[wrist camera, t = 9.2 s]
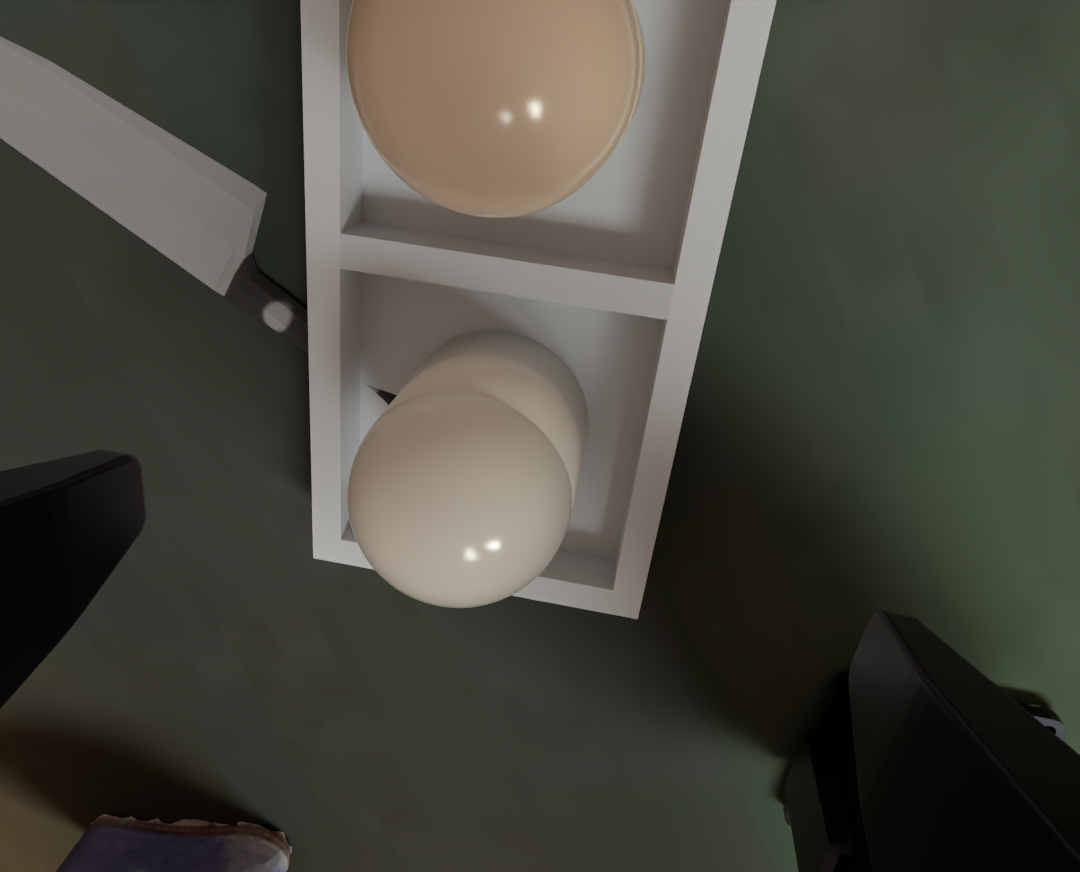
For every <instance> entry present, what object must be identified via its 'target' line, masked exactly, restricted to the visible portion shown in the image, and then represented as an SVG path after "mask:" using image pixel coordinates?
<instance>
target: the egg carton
mask: <svg viewBox="0 0 1080 872" xmlns="http://www.w3.org/2000/svg"><path fill="white" fill-rule="evenodd" d="M632 1H633V4H634V6H635V9H636V11H637V14H638V16H639V20H640V24H641V28H642V32H643V38H644V45H645V75H644V84H643V88H642V93H641V97H640V101H639V103H638V106H637V109H636V112H635V115H634V117H633V119H632V121H631V123H630V125H629V127H628V129H627V130H626V132H625V133H624V135H623V137H622V138H621V140H620V142H619V143H618V145H617V146H616V148H615V149H614V151H613V152H612V154H611V156H610V157H609V159H608V160H607V162H606V163H605V164H604V165H603V166H602V167H601V169H600V170H599V171H598V172H597V173H596V174H595V176H594V177H592V178H591V179H590V180H589V181H588V182H587V183H586V184H585V185H584V186H582V187H581V188H580V189H579V190H577V191H576V192H574V193H573V194H571V195H570V196H568V197H567V198H566V199H564V200H562V201H560V202H558V203H556V204H554V205H552V206H550V207H548V208H546V209H543V210H540V211H537V212H534V213H531V214H527V215H522V216H517V217H507V218H488V217H477V216H472V215H467V214H463V213H458V212H455V211H453V210H450V209H447V208H444V207H442V206H440V205H438V204H436V203H434V202H432V201H430V200H428V199H426V198H425V197H423V196H422V195H420V194H419V193H417V192H416V191H415V190H413V189H412V188H410V187H409V186H408V185H407V184H406V183H405V182H404V181H402V180H401V179H400V178H399V177H398V176H397V175H396V174H395V173H394V172H393V171H392V169H391V168H390V167H389V166H388V165H387V164H386V163H385V162H384V160H383V159H382V158H381V156H380V155H379V153H378V152H377V151H376V149H375V148H374V146H373V145H372V143H371V141H370V140H369V138H368V136H367V134H366V132H365V130H364V129H363V126H362V124H361V122H360V119H359V117H358V114H357V112H356V109H355V106H354V102H353V99H352V95H351V92H350V87H349V81H348V75H347V67H346V33H347V25H348V19H349V13H350V8H351V5H352V2H353V0H300V3H301V47H302V90H303V133H304V177H305V220H306V264H307V307H308V351H309V394H310V437H311V481H312V524H313V558H316V559H321V560H326V561H331V562H337V563H342V564H347V565H353V566H358V567H363V568H369V569H374V568H373V567H372V566H371V565H370V563H369V562H368V560H367V559H366V558H365V556H364V554H363V552H362V551H361V549H360V547H359V545H358V543H357V541H356V539H355V536H354V533H353V530H352V527H351V522H350V518H349V512H348V503H347V493H348V480H349V474H350V470H351V466H352V463H353V460H354V457H355V454H356V452H357V450H358V447H359V445H360V444H361V442H362V440H363V439H364V437H365V435H366V434H367V432H368V431H369V429H370V428H371V426H372V425H373V424H374V423H375V422H376V420H377V419H378V418H379V417H380V415H381V414H382V413H383V412H384V411H385V409H386V408H387V407H388V406H389V405H388V404H387V403H386V402H385V401H384V400H383V399H382V398H381V397H380V396H379V395H378V394H376V393H375V392H374V391H373V390H372V389H371V388H369V387H368V386H367V385H370V386H373V387H375V388H378V389H381V390H384V391H386V392H389V393H392V394H395V395H398V393H399V392H400V391H401V390H402V388H403V387H404V386H405V385H406V384H407V382H408V381H409V380H410V379H411V377H412V376H413V375H414V374H415V373H416V371H417V370H418V369H419V368H420V366H421V365H422V364H423V363H424V362H425V360H426V359H427V358H428V357H429V356H430V355H431V354H432V353H433V352H434V351H435V350H436V349H437V348H439V347H440V346H442V345H443V344H445V343H446V342H448V341H450V340H452V339H454V338H456V337H458V336H461V335H465V334H468V333H472V332H478V331H505V332H510V333H515V334H519V335H522V336H524V337H527V338H530V339H532V340H534V341H536V342H538V343H540V344H542V345H544V346H545V347H546V348H548V349H549V350H551V351H552V352H554V353H555V354H556V355H557V356H558V357H559V358H560V359H562V360H563V362H564V363H565V364H566V365H567V366H568V367H569V368H570V370H571V371H572V373H573V374H574V375H575V377H576V378H577V380H578V382H579V384H580V386H581V388H582V390H583V393H584V396H585V399H586V403H587V408H588V417H589V426H588V435H587V440H586V445H585V450H584V454H583V459H582V464H581V469H580V474H579V479H578V484H577V488H576V493H575V498H574V503H573V508H572V513H571V517H570V521H569V525H568V528H567V531H566V534H565V537H564V539H563V541H562V544H561V546H560V547H559V549H558V551H557V552H556V554H555V556H554V557H553V559H552V560H551V562H550V563H549V564H548V566H547V567H546V568H545V569H544V570H543V572H542V573H540V574H539V575H538V576H537V577H536V578H535V579H534V580H533V581H532V582H531V583H530V584H528V585H527V586H525V587H524V588H522V589H521V590H519V591H518V592H516V593H514V594H513V595H511V596H517V597H522V598H527V599H533V600H538V601H543V602H548V603H554V604H559V605H564V606H570V607H575V608H580V609H586V610H591V611H596V612H601V613H607V614H612V615H617V616H623V617H628V618H633V619H638V616H639V611H640V607H641V602H642V598H643V593H644V589H645V585H646V580H647V576H648V571H649V567H650V562H651V558H652V553H653V549H654V544H655V540H656V535H657V531H658V527H659V522H660V518H661V513H662V509H663V504H664V500H665V495H666V491H667V486H668V482H669V478H670V473H671V469H672V464H673V460H674V455H675V451H676V446H677V442H678V437H679V433H680V428H681V424H682V420H683V415H684V411H685V406H686V402H687V397H688V393H689V388H690V384H691V379H692V375H693V370H694V366H695V362H696V357H697V353H698V348H699V344H700V339H701V335H702V330H703V326H704V321H705V317H706V313H707V308H708V304H709V299H710V295H711V290H712V286H713V281H714V277H715V272H716V268H717V263H718V259H719V255H720V250H721V246H722V241H723V237H724V232H725V228H726V223H727V219H728V214H729V210H730V206H731V201H732V197H733V192H734V188H735V183H736V179H737V174H738V170H739V165H740V161H741V156H742V152H743V148H744V143H745V139H746V134H747V130H748V125H749V121H750V116H751V112H752V107H753V103H754V98H755V94H756V90H757V85H758V81H759V76H760V72H761V67H762V63H763V58H764V54H765V49H766V45H767V41H768V36H769V32H770V27H771V23H772V18H773V14H774V9H775V5H776V0H632ZM363 382H364V383H363ZM365 383H366V384H367V385H366V384H365ZM374 570H375V569H374Z"/></svg>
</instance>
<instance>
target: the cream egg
mask: <svg viewBox="0 0 1080 872" xmlns="http://www.w3.org/2000/svg"><path fill="white" fill-rule="evenodd" d="M588 426H589V417H588V408H587V403H586V399H585V396H584V393H583V390H582V388H581V386H580V384H579V382H578V380H577V378H576V377H575V375H574V374H573V373H572V371H571V370H570V368H569V367H568V366H567V365H566V364H565V363H564V362H563V360H562V359H560V358H559V357H558V356H557V355H556V354H555V353H554V352H552V351H551V350H549V349H548V348H546V347H545V346H544V345H542V344H540V343H538V342H536V341H534V340H532V339H530V338H527V337H524V336H522V335H519V334H515V333H510V332H505V331H478V332H472V333H468V334H465V335H461V336H458V337H456V338H454V339H452V340H450V341H448V342H446V343H445V344H443V345H442V346H440V347H439V348H437V349H436V350H435V351H434V352H433V353H432V354H431V355H430V356H429V357H428V358H427V359H426V360H425V362H424V363H423V364H422V365H421V366H420V368H419V369H418V370H417V371H416V373H415V374H414V375H413V376H412V377H411V379H410V380H409V381H408V382H407V384H406V385H405V386H404V387H403V388H402V390H401V391H400V392H399V393H398V395H397V396H396V397H395V398H394V400H393V401H392V402H391V403H390V404H389V406H388V407H387V408H386V409H385V411H384V412H383V413H382V414H381V415H380V417H379V418H378V419H377V420H376V422H375V423H374V424H373V425H372V426H371V428H370V429H369V431H368V432H367V434H366V435H365V437H364V439H363V440H362V442H361V444H360V445H359V447H358V450H357V452H356V454H355V457H354V460H353V463H352V466H351V470H350V474H349V480H348V493H347V503H348V512H349V518H350V522H351V527H352V530H353V533H354V536H355V539H356V541H357V543H358V545H359V547H360V549H361V551H362V552H363V554H364V556H365V558H366V559H367V560H368V562H369V563H370V565H371V566H372V567H373V568H374V569H375V571H376V572H377V573H378V574H379V575H380V576H381V577H382V578H383V579H384V580H386V581H387V582H388V583H389V584H391V585H392V586H393V587H395V588H396V589H398V590H399V591H401V592H403V593H404V594H406V595H408V596H410V597H412V598H414V599H416V600H419V601H422V602H425V603H428V604H432V605H436V606H442V607H449V608H469V607H477V606H482V605H486V604H491V603H494V602H497V601H500V600H502V599H504V598H507V597H509V596H511V595H513V594H514V593H516V592H518V591H519V590H521V589H522V588H524V587H525V586H527V585H528V584H530V583H531V582H532V581H533V580H534V579H535V578H536V577H537V576H538V575H539V574H540V573H542V572H543V570H544V569H545V568H546V567H547V566H548V564H549V563H550V562H551V560H552V559H553V557H554V556H555V554H556V552H557V551H558V549H559V547H560V546H561V544H562V541H563V539H564V537H565V534H566V531H567V528H568V525H569V521H570V517H571V513H572V508H573V503H574V498H575V493H576V488H577V484H578V479H579V474H580V469H581V464H582V459H583V454H584V450H585V445H586V440H587V435H588Z"/></svg>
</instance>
